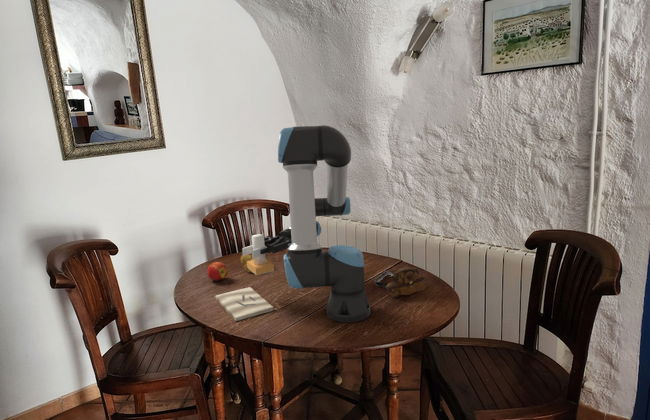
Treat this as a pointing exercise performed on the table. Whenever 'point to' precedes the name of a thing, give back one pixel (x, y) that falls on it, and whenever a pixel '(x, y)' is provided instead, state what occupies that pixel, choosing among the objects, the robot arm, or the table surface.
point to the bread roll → (244, 261)
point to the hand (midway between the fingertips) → (248, 253)
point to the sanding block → (259, 258)
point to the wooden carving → (405, 282)
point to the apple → (217, 271)
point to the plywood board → (243, 303)
